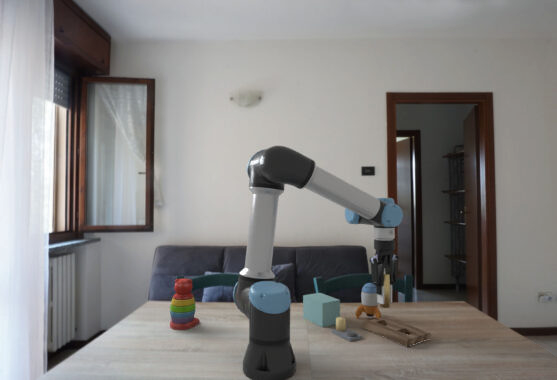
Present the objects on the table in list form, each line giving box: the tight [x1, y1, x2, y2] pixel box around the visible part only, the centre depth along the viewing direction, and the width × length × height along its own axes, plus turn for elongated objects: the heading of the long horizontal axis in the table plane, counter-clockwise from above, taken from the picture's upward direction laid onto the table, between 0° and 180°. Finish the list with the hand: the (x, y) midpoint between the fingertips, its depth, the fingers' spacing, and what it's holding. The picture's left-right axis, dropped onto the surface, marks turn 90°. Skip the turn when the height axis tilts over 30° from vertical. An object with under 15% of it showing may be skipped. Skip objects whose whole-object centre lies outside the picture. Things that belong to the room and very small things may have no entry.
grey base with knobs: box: [331, 316, 363, 342], centre depth 127 cm, size 6×10×5 cm, turn 31°
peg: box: [379, 272, 391, 309], centre depth 133 cm, size 4×4×12 cm
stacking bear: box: [169, 278, 201, 331], centre depth 136 cm, size 11×10×18 cm
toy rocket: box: [355, 282, 382, 319], centre depth 145 cm, size 10×11×15 cm
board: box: [362, 316, 432, 347], centre depth 128 cm, size 12×20×2 cm, turn 31°
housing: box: [302, 292, 341, 328], centre depth 143 cm, size 9×13×9 cm
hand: (384, 302), depth 133 cm, fingers closed on peg, 3 cm apart
